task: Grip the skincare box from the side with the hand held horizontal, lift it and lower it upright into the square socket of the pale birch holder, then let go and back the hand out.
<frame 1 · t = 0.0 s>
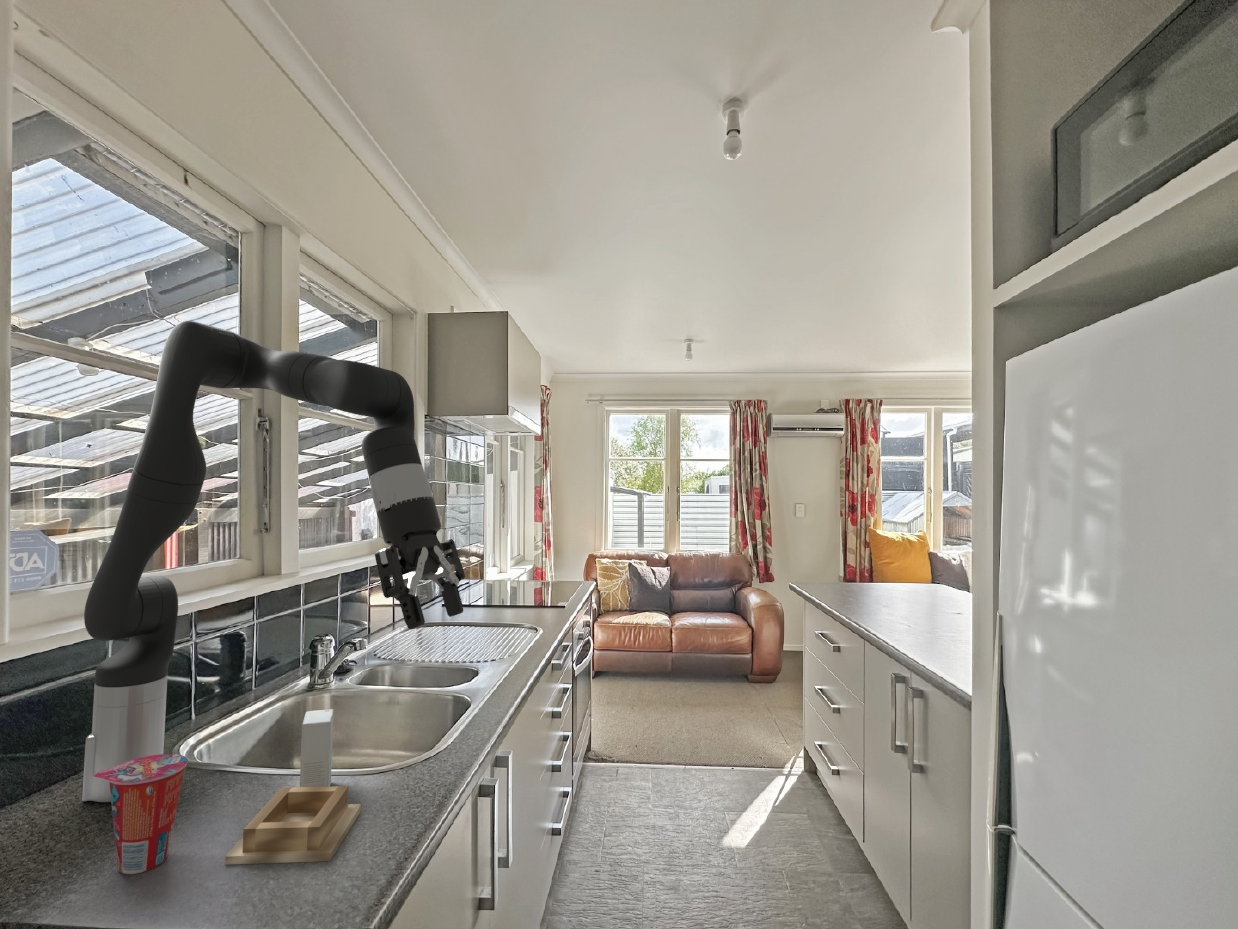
hand: (437, 620, 83), 31 cm above the worktop, tool tilted 20°, fingers open, 8 cm apart
cup: (138, 865, 81), on the worktop
skincare box: (315, 793, 100), on the worktop
socket holder: (298, 835, 88), on the worktop
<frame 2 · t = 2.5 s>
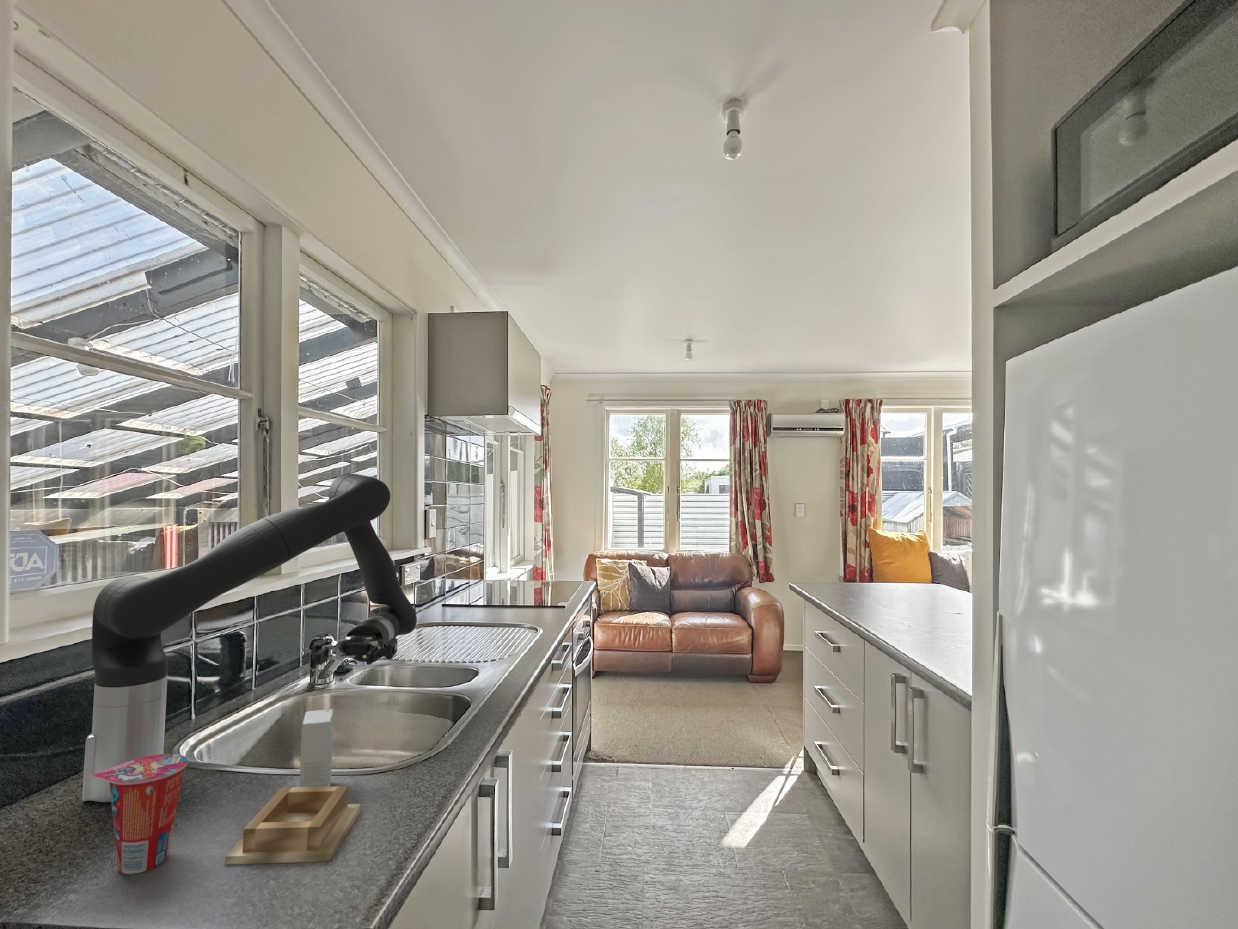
hand: (343, 659, 112), 18 cm above the worktop, tool horizontal, fingers open, 8 cm apart
nothing on the worktop moved.
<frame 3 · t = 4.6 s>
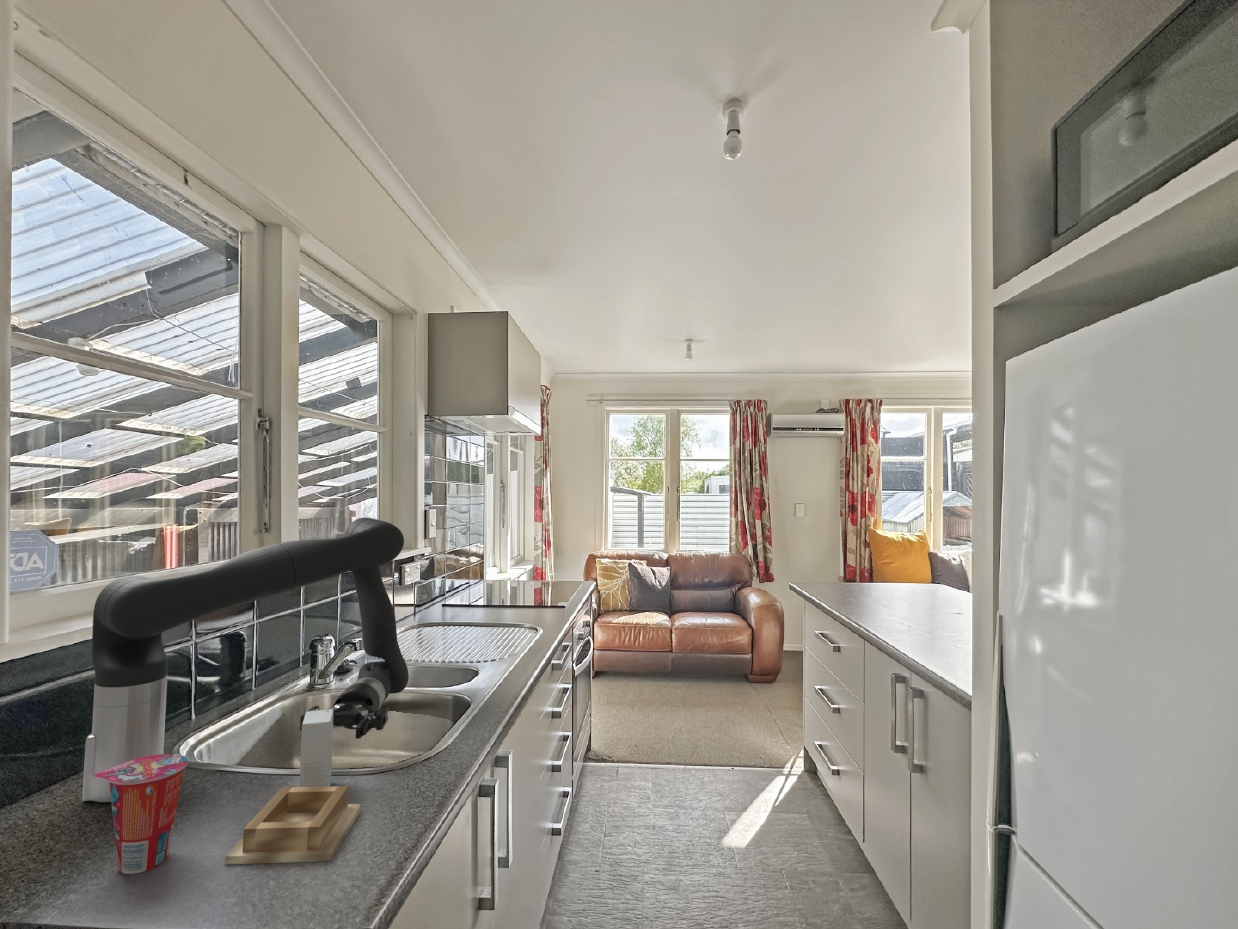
hand: (332, 733, 108), 7 cm above the worktop, tool horizontal, fingers open, 8 cm apart
nothing on the worktop moved.
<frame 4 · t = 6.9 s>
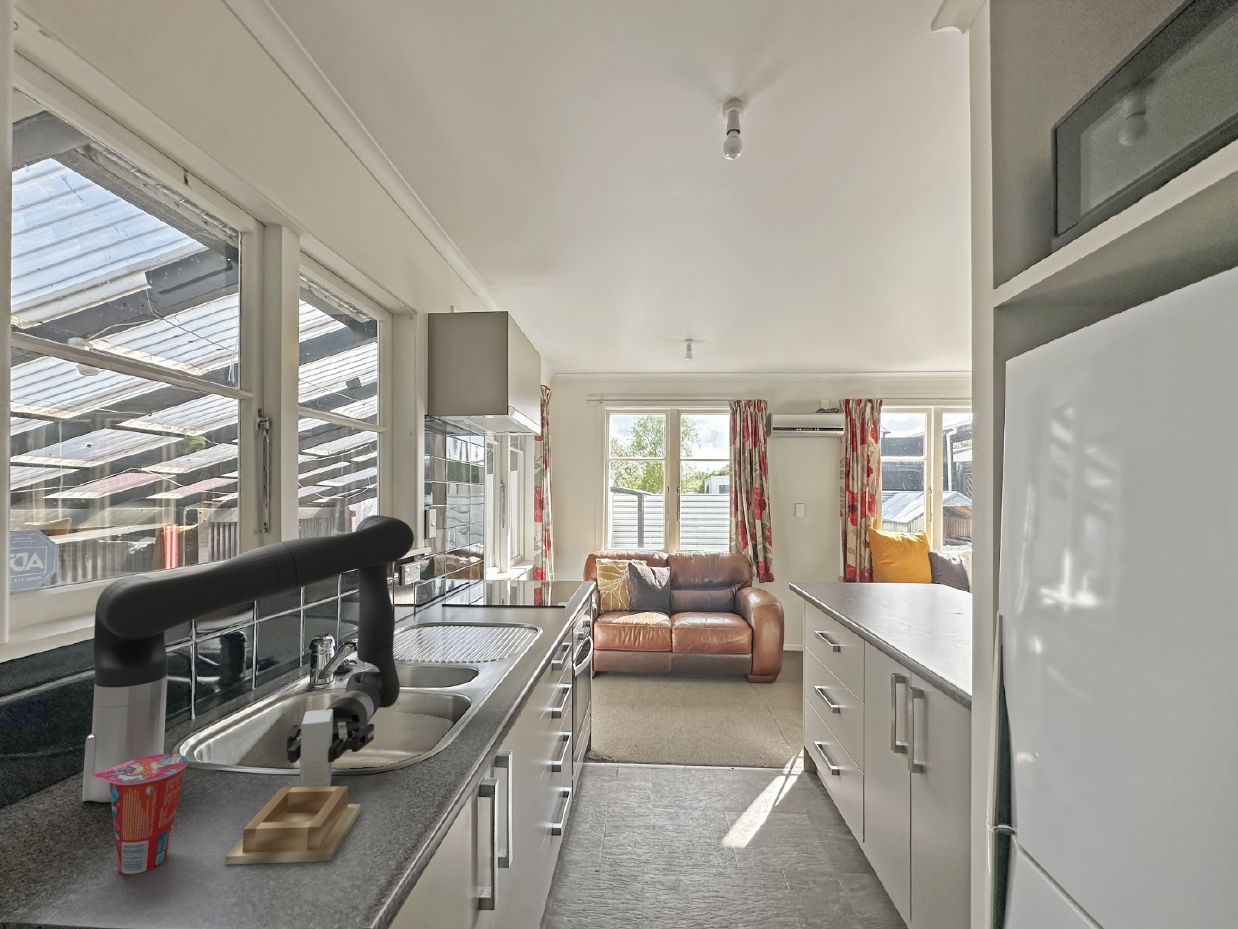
hand: (311, 756, 98), 7 cm above the worktop, tool horizontal, fingers closed on skincare box, 5 cm apart
skincare box: (315, 793, 100), on the worktop, touching gripper
everything else where it was.
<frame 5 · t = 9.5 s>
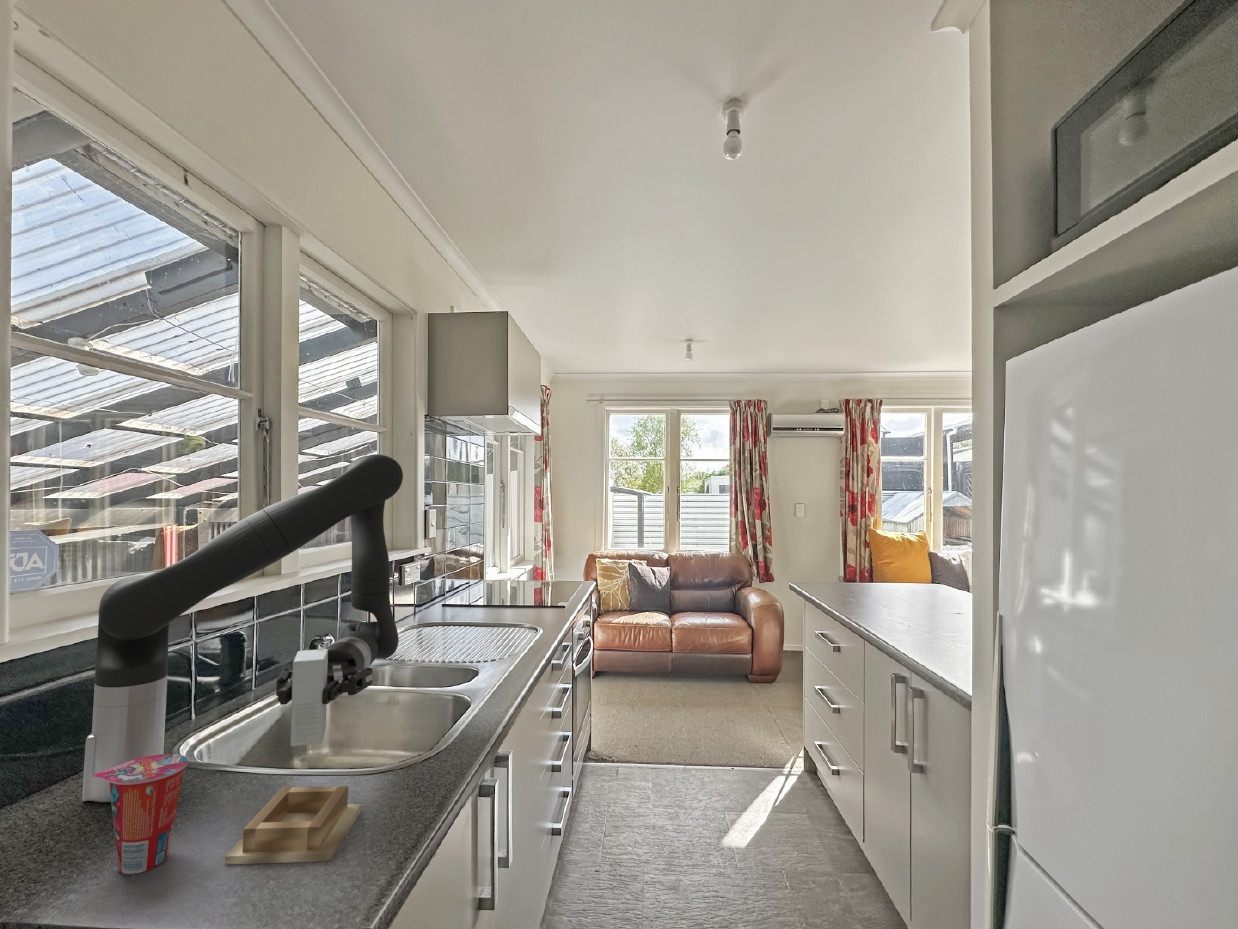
hand: (304, 697, 90), 19 cm above the worktop, tool horizontal, fingers closed on skincare box, 5 cm apart
skincare box: (308, 739, 92), point 12 cm above the worktop, touching gripper
everything else where it was.
when the fingers open (9 cm above the worktop, at t = 12.5 s): skincare box drops 1 cm, resting on socket holder.
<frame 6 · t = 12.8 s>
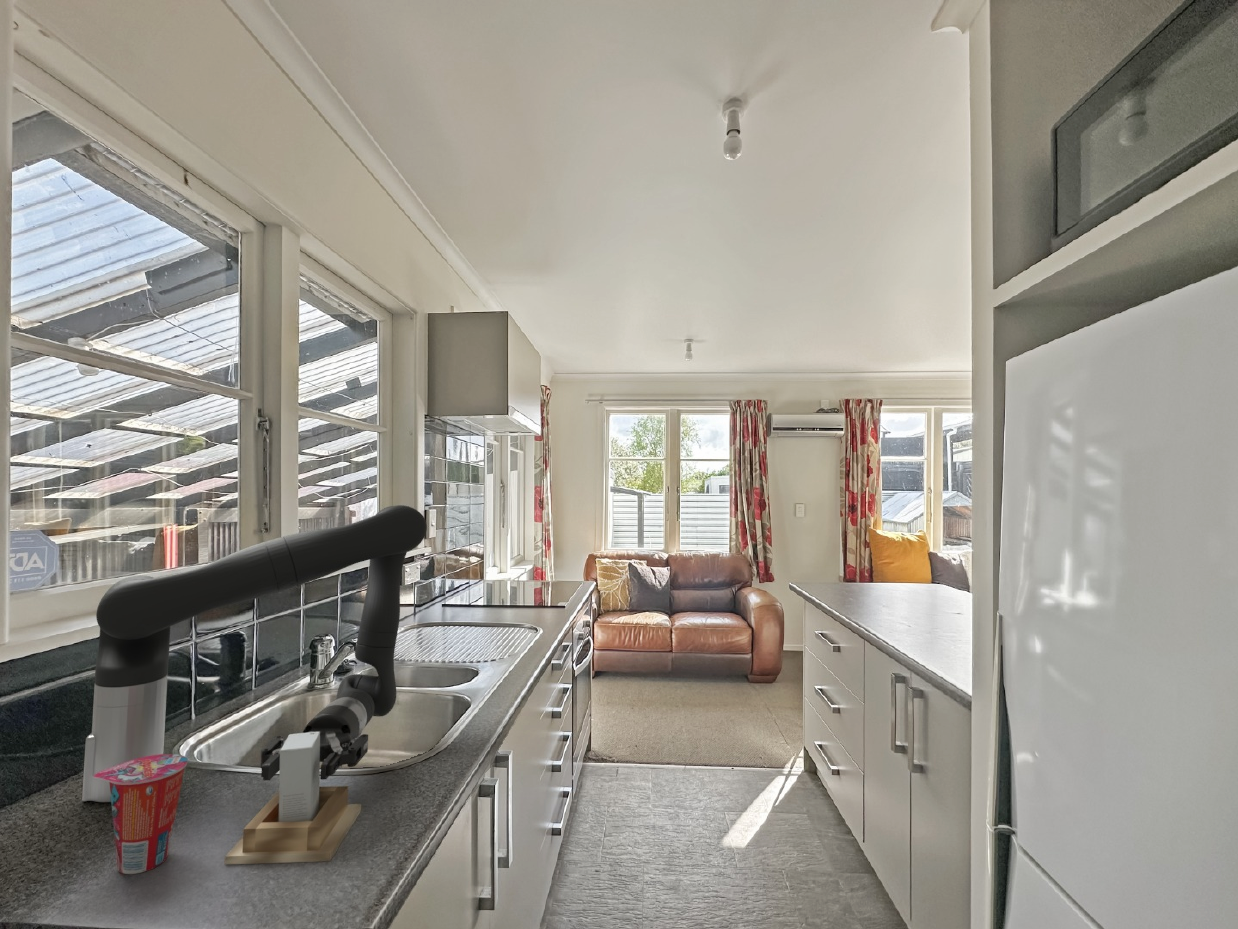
hand: (294, 773, 86), 9 cm above the worktop, tool horizontal, fingers open, 7 cm apart
skincare box: (298, 828, 88), point 1 cm above the worktop, touching socket holder
everything else where it was.
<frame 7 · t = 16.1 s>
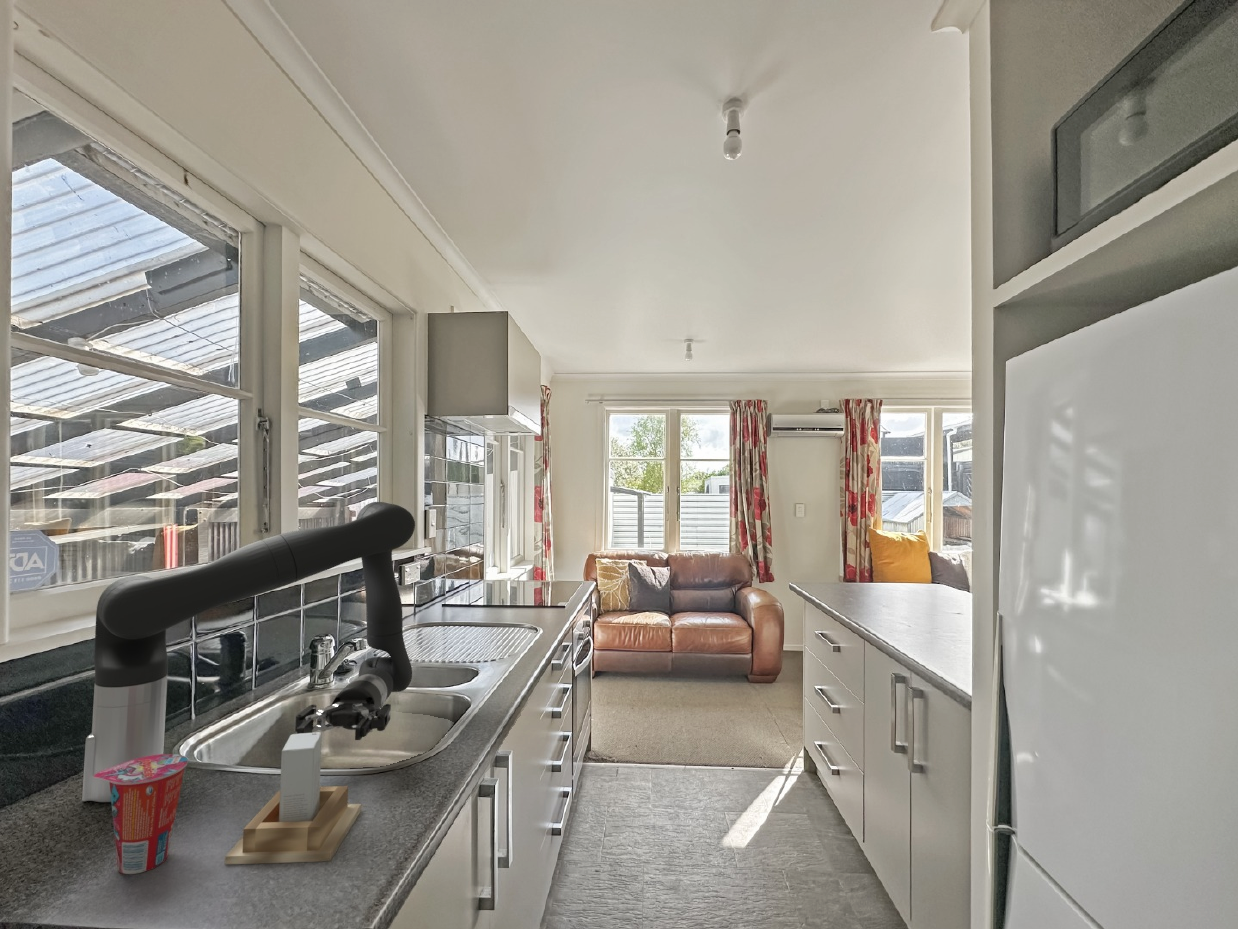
hand: (329, 734, 100), 10 cm above the worktop, tool horizontal, fingers open, 8 cm apart
nothing on the worktop moved.
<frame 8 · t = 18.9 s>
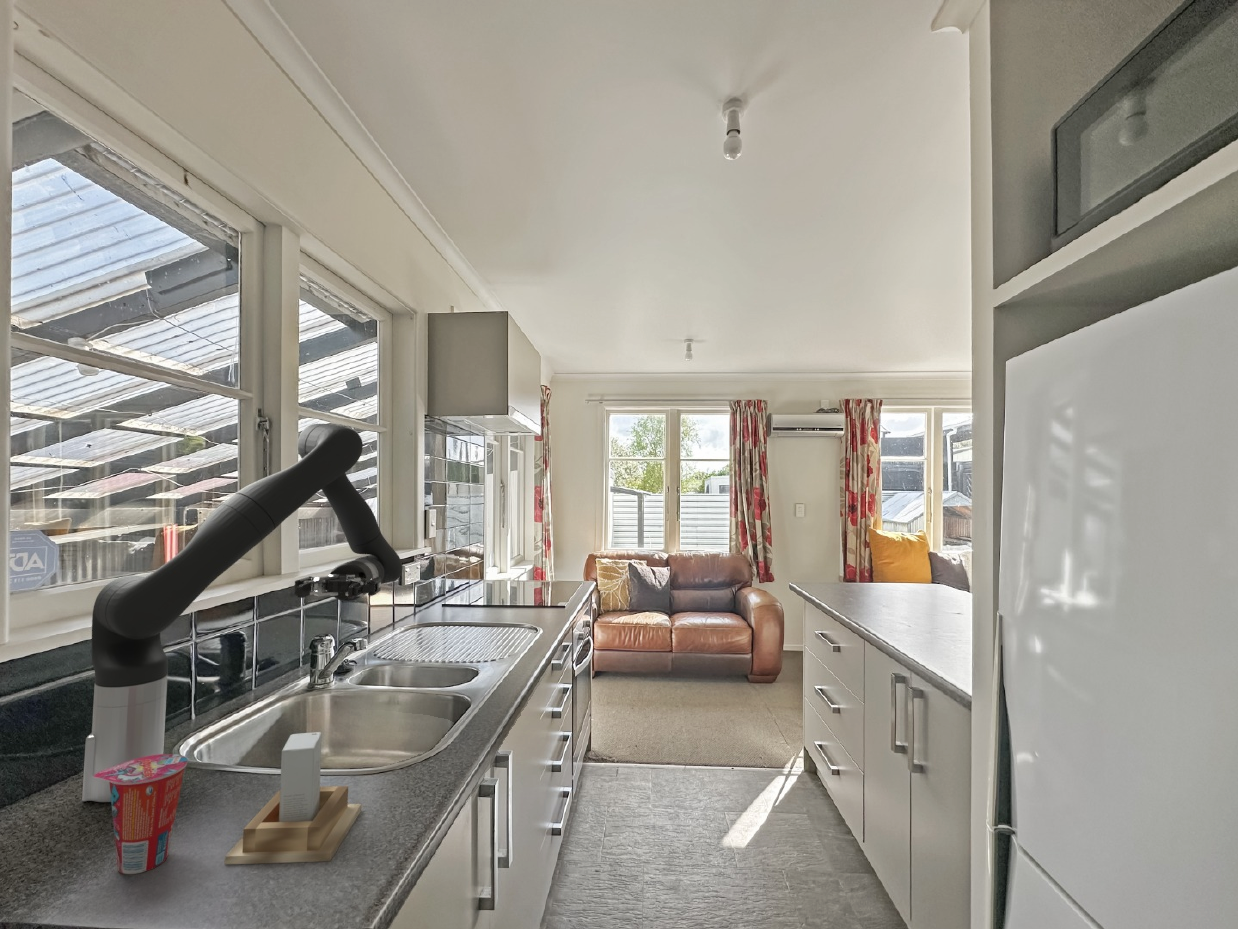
hand: (325, 592, 111), 30 cm above the worktop, tool horizontal, fingers open, 8 cm apart
nothing on the worktop moved.
at the end: skincare box 0.1 cm off-centre on the socket holder, point 0.8 cm above the socket holder's base; skincare box tilted 0°; the gripper is holding nothing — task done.
